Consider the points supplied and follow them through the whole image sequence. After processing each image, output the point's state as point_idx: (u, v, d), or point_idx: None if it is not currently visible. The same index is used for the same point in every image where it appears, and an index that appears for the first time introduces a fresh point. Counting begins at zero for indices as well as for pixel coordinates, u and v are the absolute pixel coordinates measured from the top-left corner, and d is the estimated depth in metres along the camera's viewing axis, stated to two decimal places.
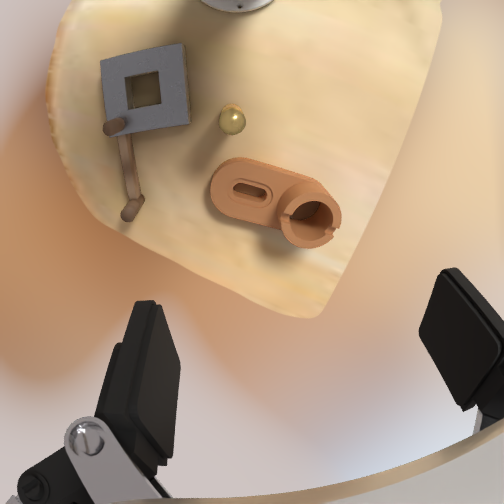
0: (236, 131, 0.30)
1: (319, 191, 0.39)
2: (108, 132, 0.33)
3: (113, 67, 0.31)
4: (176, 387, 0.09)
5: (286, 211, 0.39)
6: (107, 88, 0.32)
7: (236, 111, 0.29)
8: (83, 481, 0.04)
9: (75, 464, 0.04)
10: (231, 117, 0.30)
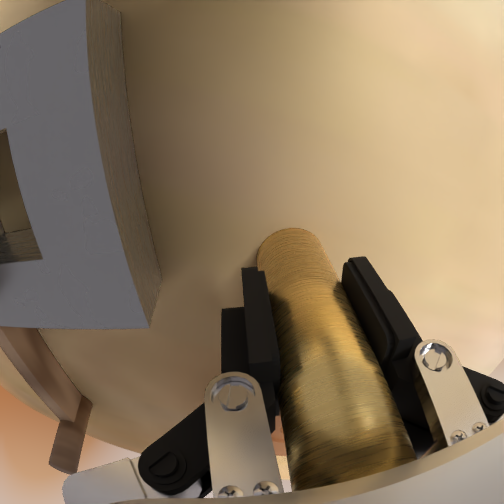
0: None
1: None
2: None
3: None
4: None
5: None
6: None
7: None
8: (208, 431, 0.05)
9: (208, 413, 0.05)
10: None
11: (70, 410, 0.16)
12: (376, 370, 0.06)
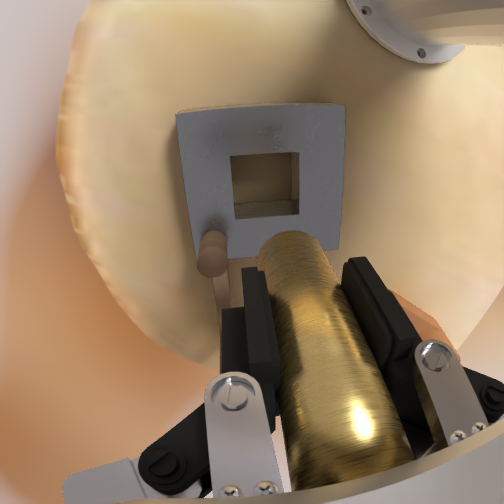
0: None
1: (454, 351, 0.28)
2: (208, 271, 0.20)
3: (205, 132, 0.18)
4: None
5: None
6: (192, 174, 0.20)
7: None
8: (208, 431, 0.05)
9: (208, 413, 0.05)
10: None
11: None
12: (375, 372, 0.06)
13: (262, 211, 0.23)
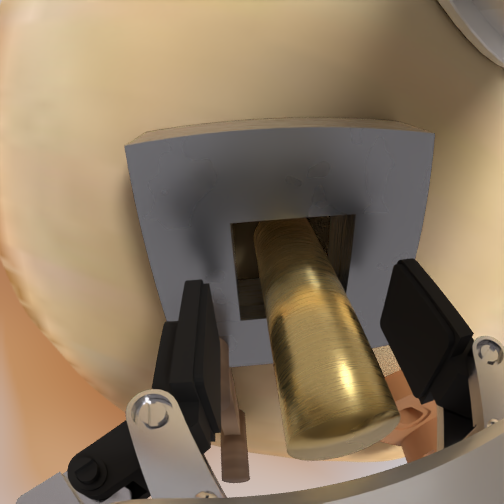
0: (350, 450, 0.07)
1: None
2: None
3: (183, 180, 0.10)
4: (219, 365, 0.10)
5: None
6: (164, 254, 0.11)
7: (377, 413, 0.05)
8: (137, 452, 0.05)
9: (133, 434, 0.05)
10: (349, 430, 0.06)
11: (239, 424, 0.20)
12: (352, 316, 0.08)
13: None
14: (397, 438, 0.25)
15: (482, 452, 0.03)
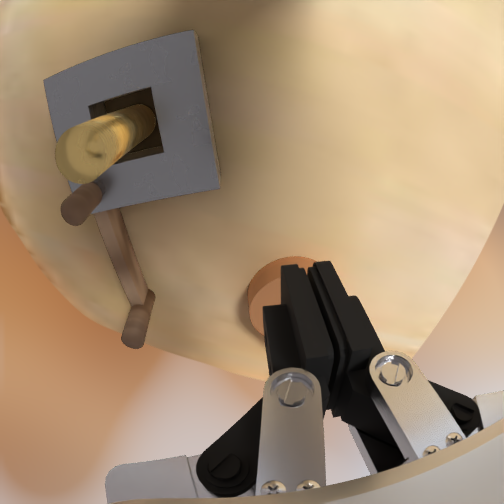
0: (91, 174, 0.12)
1: None
2: (72, 219, 0.18)
3: (66, 89, 0.16)
4: None
5: None
6: (61, 129, 0.17)
7: (82, 129, 0.11)
8: (262, 424, 0.05)
9: (265, 406, 0.06)
10: (76, 145, 0.11)
11: (141, 294, 0.26)
12: (113, 118, 0.14)
13: (133, 157, 0.20)
14: None
15: (482, 452, 0.03)
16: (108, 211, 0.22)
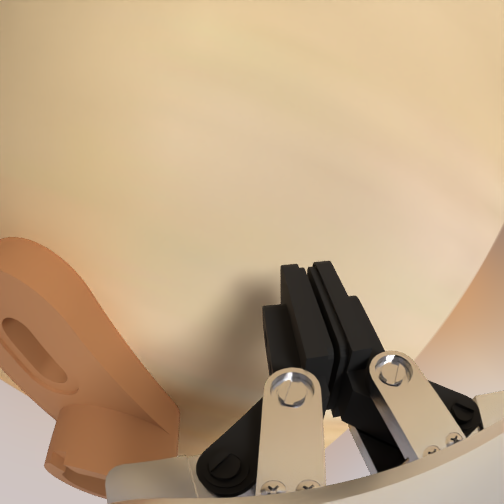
0: None
1: None
2: None
3: None
4: None
5: (70, 467, 0.10)
6: None
7: None
8: (263, 424, 0.05)
9: (265, 406, 0.06)
10: None
11: None
12: None
13: None
14: (43, 400, 0.14)
15: (482, 452, 0.03)
16: None
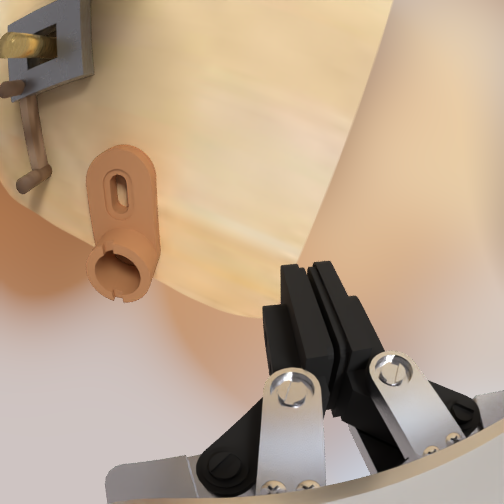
0: (8, 52, 0.16)
1: (150, 270, 0.34)
2: (3, 94, 0.21)
3: (17, 29, 0.20)
4: None
5: (114, 246, 0.32)
6: None
7: (9, 33, 0.15)
8: (263, 424, 0.05)
9: (265, 406, 0.06)
10: (6, 40, 0.16)
11: (39, 162, 0.30)
12: (29, 34, 0.18)
13: None
14: (99, 225, 0.35)
15: (482, 452, 0.03)
16: (27, 99, 0.26)
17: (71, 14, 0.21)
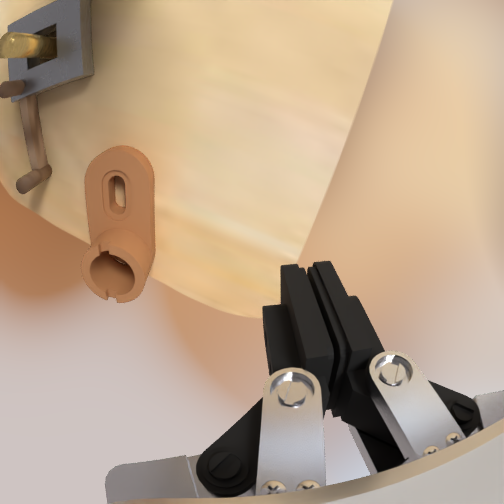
0: (8, 52, 0.16)
1: (144, 272, 0.34)
2: (3, 94, 0.21)
3: (17, 29, 0.20)
4: None
5: (110, 247, 0.32)
6: None
7: (9, 33, 0.15)
8: (263, 424, 0.05)
9: (265, 406, 0.06)
10: (6, 40, 0.16)
11: (39, 162, 0.30)
12: None
13: None
14: (96, 224, 0.34)
15: (482, 452, 0.03)
16: (27, 99, 0.26)
17: (71, 14, 0.21)
